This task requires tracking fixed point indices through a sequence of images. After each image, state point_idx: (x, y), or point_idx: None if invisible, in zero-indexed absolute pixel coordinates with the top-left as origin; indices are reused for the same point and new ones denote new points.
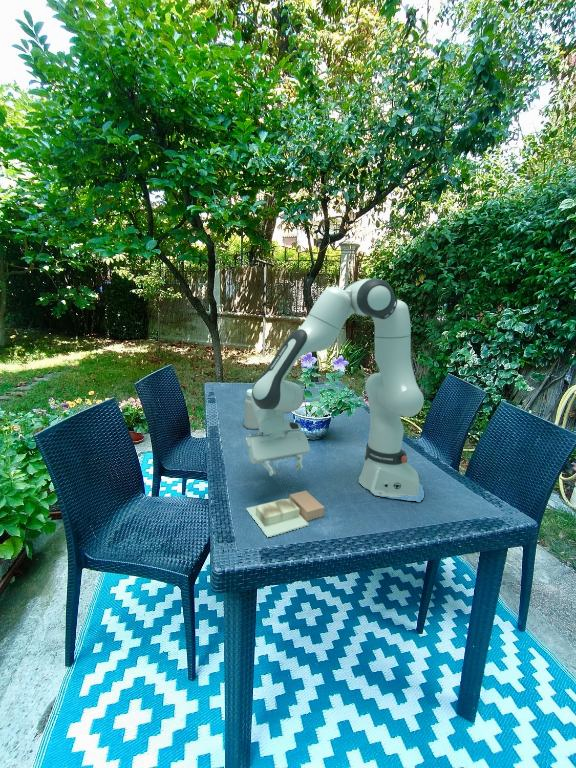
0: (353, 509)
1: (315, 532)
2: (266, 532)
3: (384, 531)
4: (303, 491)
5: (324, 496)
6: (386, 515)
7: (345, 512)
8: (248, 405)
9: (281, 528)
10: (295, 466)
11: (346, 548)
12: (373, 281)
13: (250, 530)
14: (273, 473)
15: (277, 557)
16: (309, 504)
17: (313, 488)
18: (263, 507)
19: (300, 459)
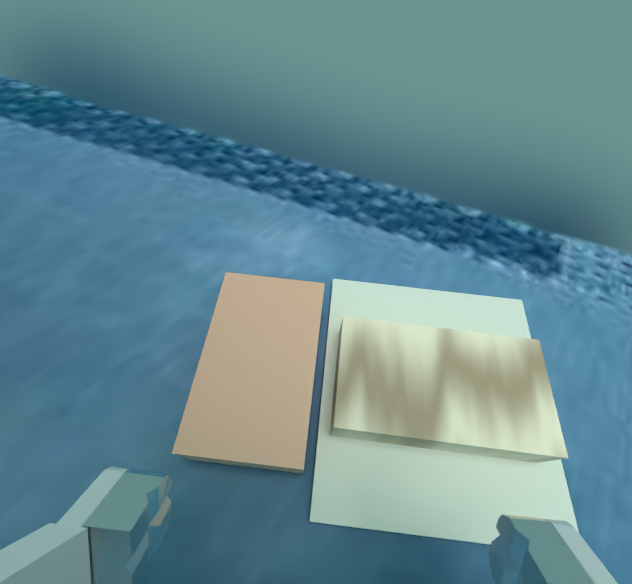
0: (85, 268)
1: (333, 249)
2: (518, 320)
3: (136, 157)
4: (195, 450)
5: (76, 419)
6: (34, 192)
7: (133, 271)
8: None
9: (450, 310)
10: (142, 577)
11: (299, 168)
12: None
13: (574, 378)
14: (544, 521)
15: (509, 229)
16: (271, 321)
17: None
18: (525, 424)
19: (5, 573)
